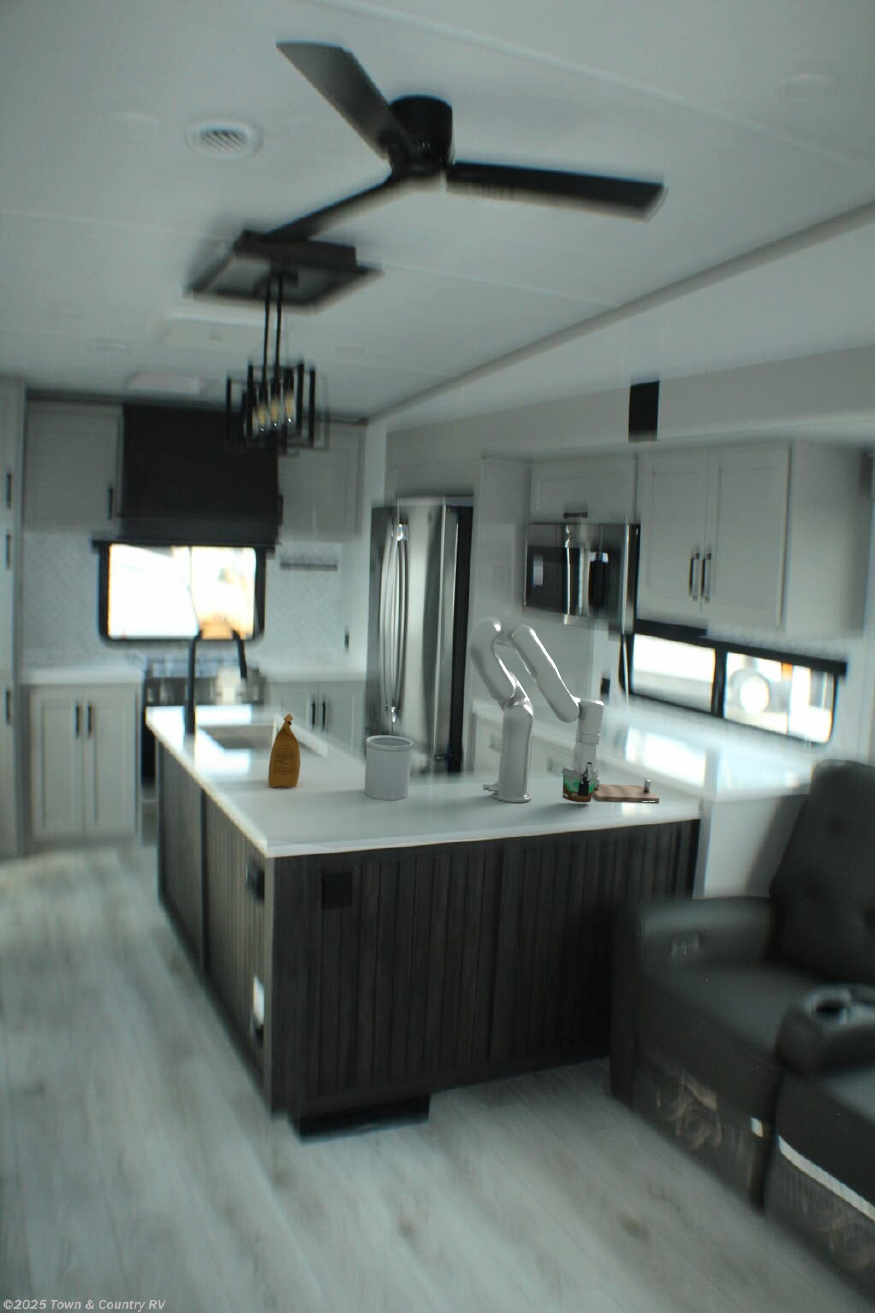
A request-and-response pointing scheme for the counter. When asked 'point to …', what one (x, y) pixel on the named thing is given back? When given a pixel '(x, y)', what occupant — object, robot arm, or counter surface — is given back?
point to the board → (623, 792)
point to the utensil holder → (387, 767)
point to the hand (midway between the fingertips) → (580, 792)
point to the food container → (576, 785)
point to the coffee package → (284, 758)
